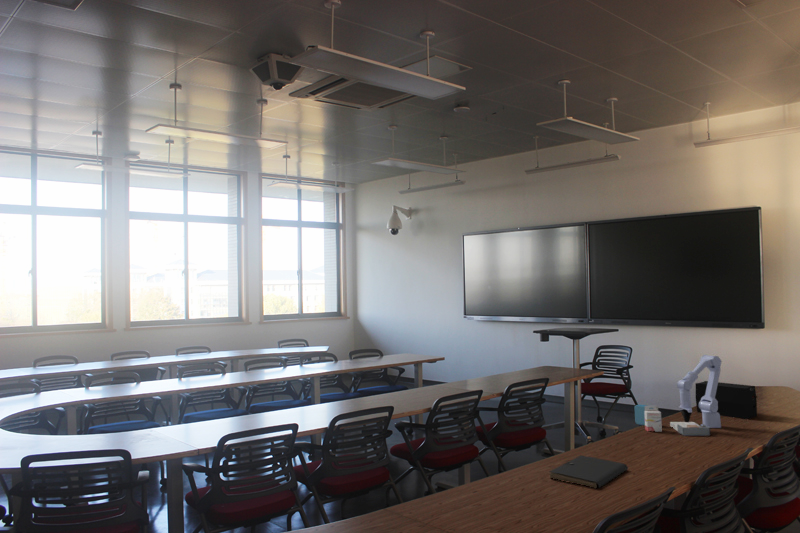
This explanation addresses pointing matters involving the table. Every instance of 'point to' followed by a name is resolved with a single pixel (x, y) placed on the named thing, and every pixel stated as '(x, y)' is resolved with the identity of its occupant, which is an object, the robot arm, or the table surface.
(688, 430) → the bin
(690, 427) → the terracotta tile
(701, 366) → the robot arm
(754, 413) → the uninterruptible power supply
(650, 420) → the ink cartridge box
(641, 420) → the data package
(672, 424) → the ledge board
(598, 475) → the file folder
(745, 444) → the table surface
